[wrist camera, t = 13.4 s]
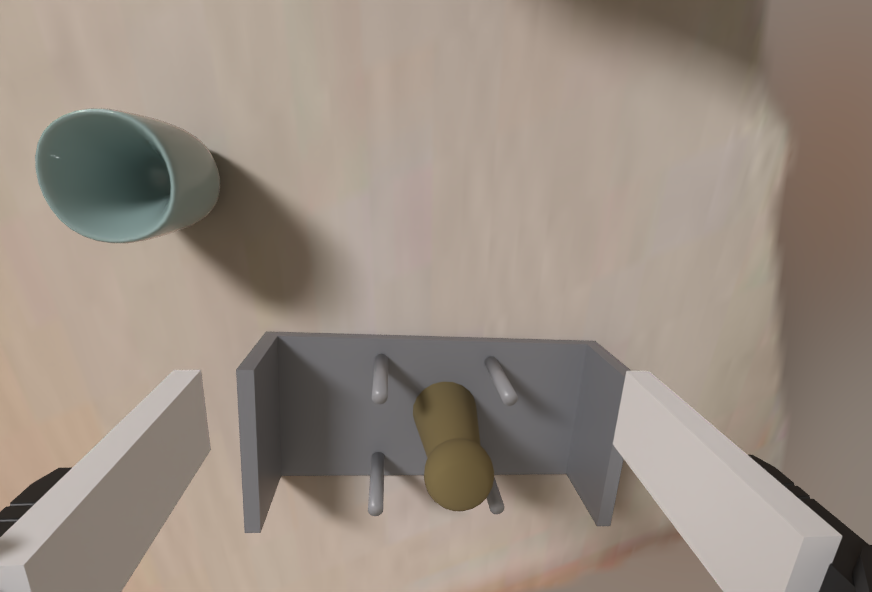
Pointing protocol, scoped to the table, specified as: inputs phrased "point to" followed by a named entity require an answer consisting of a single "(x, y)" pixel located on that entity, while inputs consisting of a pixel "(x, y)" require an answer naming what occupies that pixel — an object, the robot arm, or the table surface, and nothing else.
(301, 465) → the rack
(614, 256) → the table surface
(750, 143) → the table surface
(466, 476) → the cork
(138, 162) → the cup
